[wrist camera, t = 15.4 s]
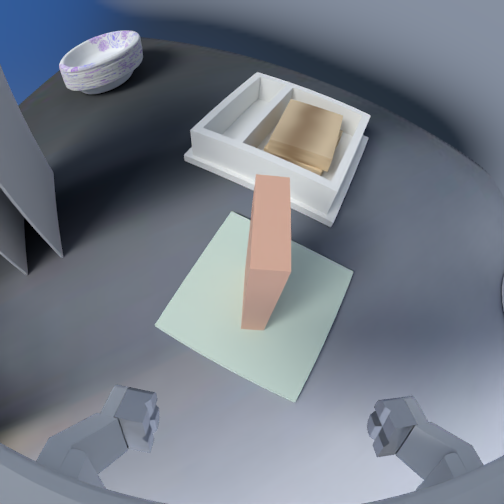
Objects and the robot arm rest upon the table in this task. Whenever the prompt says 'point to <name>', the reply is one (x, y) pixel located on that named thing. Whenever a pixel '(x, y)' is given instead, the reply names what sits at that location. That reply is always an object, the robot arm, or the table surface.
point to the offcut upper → (306, 135)
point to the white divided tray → (257, 136)
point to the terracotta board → (267, 250)
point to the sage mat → (279, 324)
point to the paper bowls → (102, 62)
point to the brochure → (23, 185)
